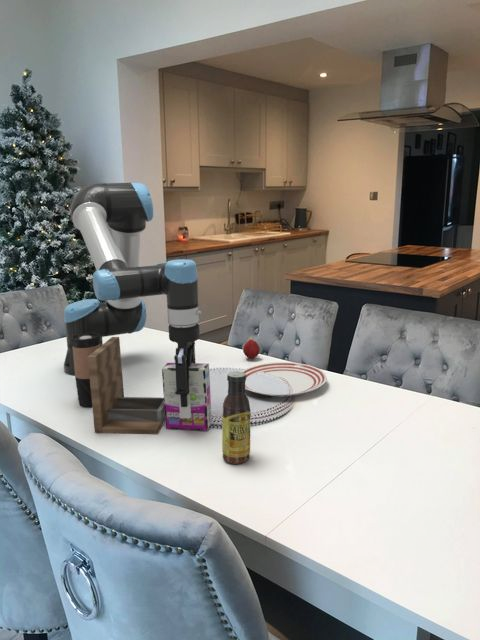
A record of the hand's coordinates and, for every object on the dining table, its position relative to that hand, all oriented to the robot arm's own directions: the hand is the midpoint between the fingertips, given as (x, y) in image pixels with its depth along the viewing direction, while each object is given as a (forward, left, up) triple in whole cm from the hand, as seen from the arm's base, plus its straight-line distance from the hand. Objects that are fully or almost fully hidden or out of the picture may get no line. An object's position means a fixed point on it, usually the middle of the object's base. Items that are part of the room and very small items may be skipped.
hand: (188, 411), depth 134 cm
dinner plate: (-30, +23, -4) cm, 38 cm away
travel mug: (-14, -31, -4) cm, 34 cm away
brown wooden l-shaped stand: (-4, -15, -4) cm, 16 cm away
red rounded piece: (-55, +12, -4) cm, 56 cm away
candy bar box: (0, 0, -4) cm, 4 cm away
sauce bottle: (+16, +14, -4) cm, 22 cm away
